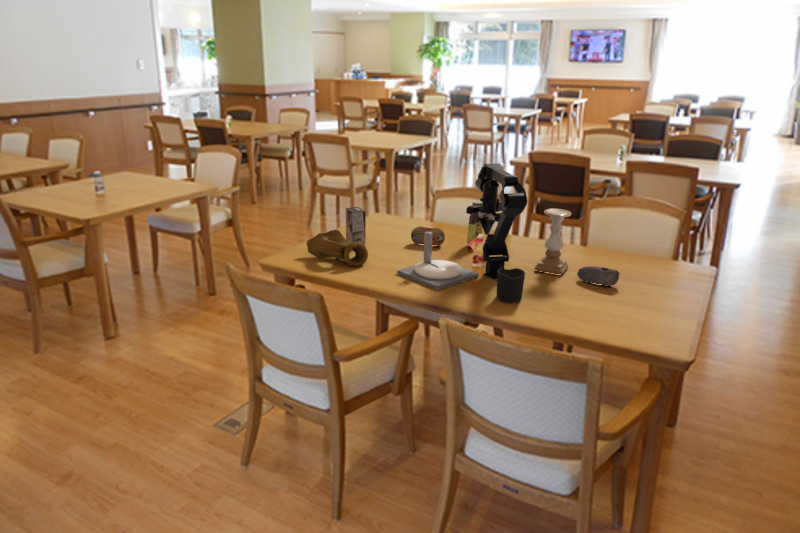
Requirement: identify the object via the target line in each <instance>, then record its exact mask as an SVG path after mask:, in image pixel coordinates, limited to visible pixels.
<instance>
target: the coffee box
mask: <svg viewBox="0 0 800 533" xmlns="http://www.w3.org/2000/svg"><path fill="white" fill-rule="evenodd" d="M366 234H367V233H366V210H365V209H363V208H361V207H359V206H351V207H345V239H346V241H347V242H348V243H352V242H360V243H362V244H363V245H364V246H365V247H366V244H367V243H366V237H367V236H366Z"/></svg>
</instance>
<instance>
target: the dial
mask: <svg viewBox="0 0 800 533" xmlns="http://www.w3.org/2000/svg"><path fill="white" fill-rule="evenodd" d="M432 248H433V247H432V232H425V235H424V246H423V261H419V262H417V263H416V264H414V265H415V273H416V274H417V275H419V276H422V277H425V278H429V279H439V280H443V279H452V278H456V277H458V276H460V275H461V273H462V268H461V267H462V266H461V265H460V264H459V263H456V262H454V261H450V260H445V259H440V260H435V259H432V252H433V251H432V250H433V249H432Z"/></svg>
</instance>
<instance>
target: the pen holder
mask: <svg viewBox="0 0 800 533" xmlns="http://www.w3.org/2000/svg"><path fill="white" fill-rule="evenodd" d="M525 276H526V272H525V270H523V269H521V268H510V269H508V268H507V269H506V268H504V269H503V268H500V269H498V270H497V279H496V298H498V299H499V301H500V302H502V301H503V303H506V302H509V303H508V304H514V303H513V302H516V303H519V302H520V301H522V298H523V291H524V284H525ZM498 299H497V300H498ZM518 301H519V302H518Z"/></svg>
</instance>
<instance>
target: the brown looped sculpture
mask: <svg viewBox="0 0 800 533" xmlns="http://www.w3.org/2000/svg"><path fill="white" fill-rule="evenodd" d="M306 247H307V252H308V253H309V254H311V255H312V256H315V257H316V258H318V259H322V258H326V257H331V258H334V259H336V260H342V261H345V263H346V264H348V265H349V266H351V267H354V268H358V267H362V266H363V265H365V263H366V262H367V261H368V256H369V252H368V249H367V247H366V245H365V246H364V245H363V244H362V243H360V242H352V243H348V242H347V241H346V237H344V235H343V234H342V232H341V231H340V230H339V229H331V230H329V231H326V232H323V233H320V232H319V233H318V234H316V236H314V237H312V238H309V239H308V240H307V241H306ZM351 250H352V251H353V252H354V254H355V255H354V256H353V257H351V258H350V253H351V252H352V251H351Z"/></svg>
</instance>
